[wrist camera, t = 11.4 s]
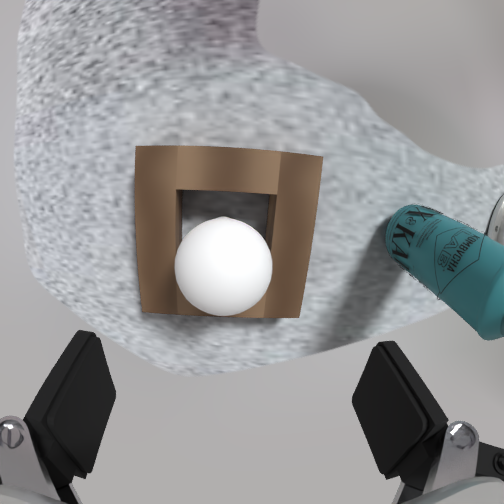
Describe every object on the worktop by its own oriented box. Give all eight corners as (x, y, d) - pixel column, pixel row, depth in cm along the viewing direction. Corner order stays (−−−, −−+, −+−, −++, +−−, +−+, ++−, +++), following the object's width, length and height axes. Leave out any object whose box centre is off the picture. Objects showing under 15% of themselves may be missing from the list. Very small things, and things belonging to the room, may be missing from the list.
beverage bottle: (432, 215, 27) (579, 298, 8) (405, 267, 29) (531, 382, 10) (393, 187, 25) (571, 266, 7) (364, 245, 27) (507, 380, 9)
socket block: (310, 154, 24) (323, 156, 20) (291, 298, 29) (299, 317, 25) (147, 145, 22) (135, 146, 19) (150, 293, 27) (142, 311, 24)
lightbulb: (248, 264, 27) (263, 342, 17) (183, 252, 26) (162, 325, 16) (265, 202, 25) (295, 251, 15) (195, 186, 24) (175, 226, 14)
